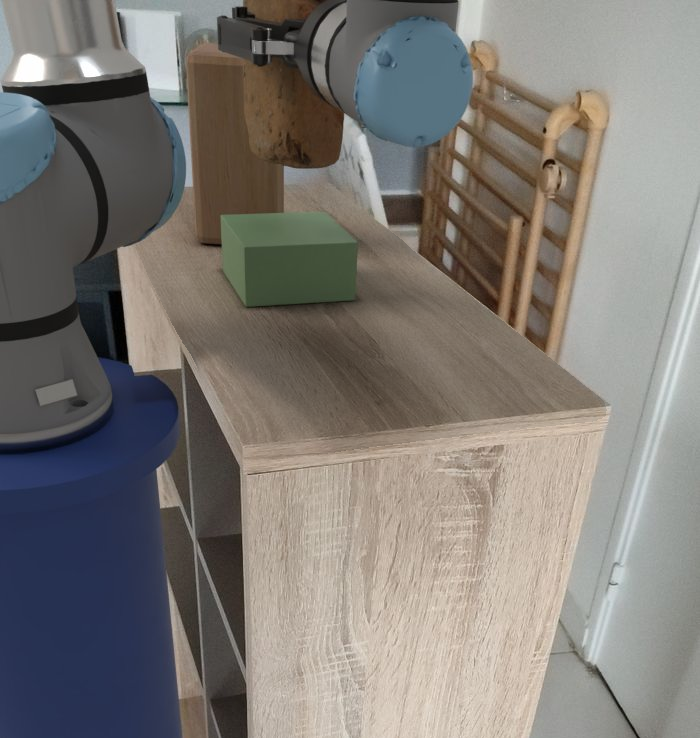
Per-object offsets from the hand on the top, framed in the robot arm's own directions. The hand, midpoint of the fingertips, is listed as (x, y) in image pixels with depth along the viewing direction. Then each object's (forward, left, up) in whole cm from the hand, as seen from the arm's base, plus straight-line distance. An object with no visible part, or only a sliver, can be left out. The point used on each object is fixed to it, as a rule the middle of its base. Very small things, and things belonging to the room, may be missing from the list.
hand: (284, 25), depth 87 cm
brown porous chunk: (0, -5, -11) cm, 12 cm away
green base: (-1, -3, -24) cm, 24 cm away
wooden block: (-2, +16, -24) cm, 29 cm away
